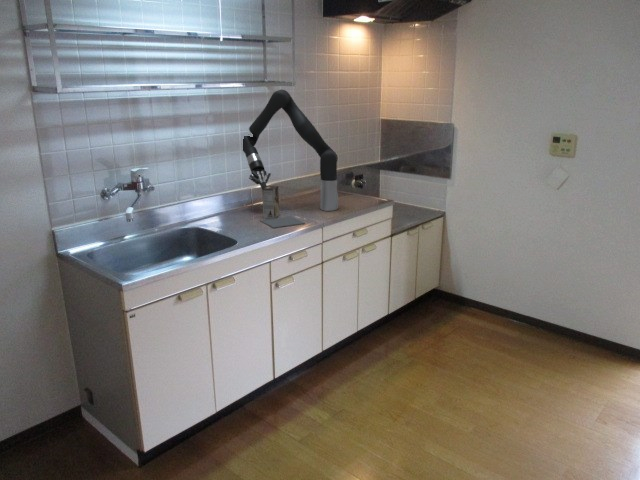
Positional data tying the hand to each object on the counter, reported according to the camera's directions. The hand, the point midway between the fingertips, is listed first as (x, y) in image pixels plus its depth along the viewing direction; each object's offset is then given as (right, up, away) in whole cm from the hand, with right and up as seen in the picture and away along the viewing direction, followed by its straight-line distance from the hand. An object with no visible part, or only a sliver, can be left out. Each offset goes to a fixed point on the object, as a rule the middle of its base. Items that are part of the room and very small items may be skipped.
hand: (264, 189), depth 286 cm
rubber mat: (+11, -19, -14) cm, 26 cm away
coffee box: (+4, -15, -2) cm, 16 cm away
